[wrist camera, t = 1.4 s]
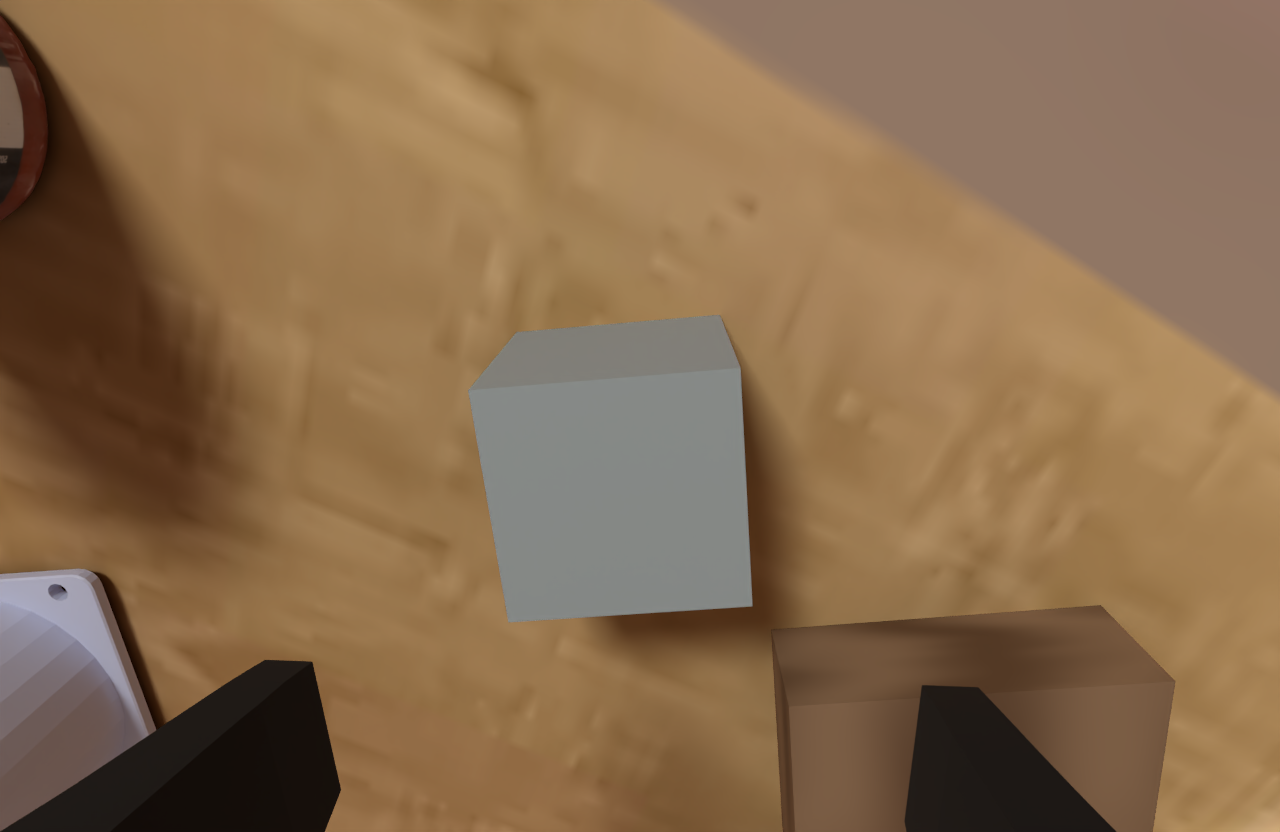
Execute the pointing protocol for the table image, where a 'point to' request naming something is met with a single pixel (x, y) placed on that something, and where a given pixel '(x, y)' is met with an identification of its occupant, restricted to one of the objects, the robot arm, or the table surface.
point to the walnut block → (968, 657)
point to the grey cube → (616, 469)
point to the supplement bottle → (19, 123)
